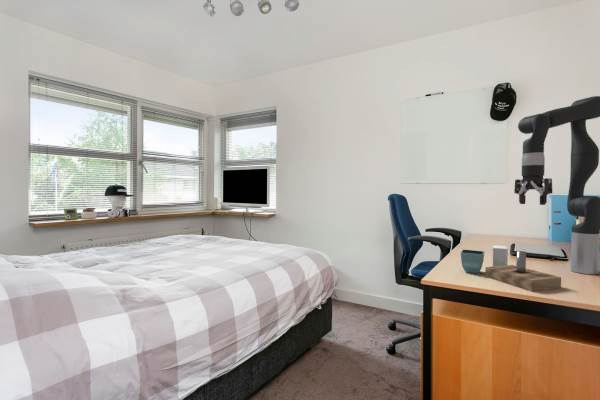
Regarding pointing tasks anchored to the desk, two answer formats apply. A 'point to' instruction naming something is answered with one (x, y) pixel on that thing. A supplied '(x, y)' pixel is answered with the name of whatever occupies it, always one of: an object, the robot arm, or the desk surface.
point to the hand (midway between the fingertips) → (532, 204)
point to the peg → (521, 262)
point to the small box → (500, 255)
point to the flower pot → (472, 260)
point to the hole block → (523, 278)
